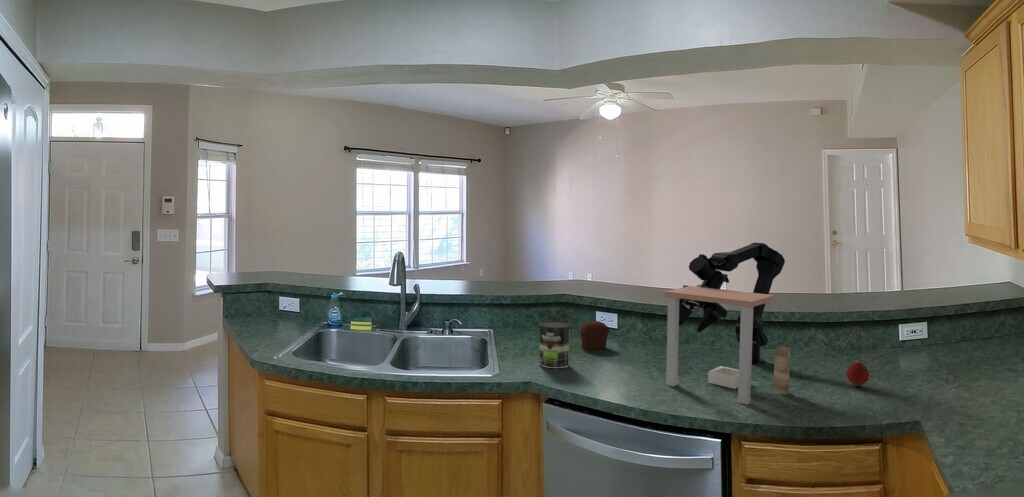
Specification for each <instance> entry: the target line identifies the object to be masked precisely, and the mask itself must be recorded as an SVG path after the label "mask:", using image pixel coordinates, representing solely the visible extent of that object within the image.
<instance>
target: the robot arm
mask: <svg viewBox="0 0 1024 497" xmlns="http://www.w3.org/2000/svg"><path fill="white" fill-rule="evenodd" d="M751 259H753V260H754V261H755V262H756V270H757V274H758V276H757V278H756V282H755V285H754V288H753V291H752V293H759V294H768V295H770V291H771V289H772V284H773V282H774V281H773V280H774V279H776V277H777V276H778V275H780V273H781V272H782V270H783V267H784V265H785V262H786V261H785V260H786V259H785V257H784V255H782V253H780V252H779V251H777V250H775V249H773V248H771V247H770V246H768V244H766V243H764V242H752V243H750V244H747V245H746V246H743V247H739V248H737V249H735V250H733V251H732V250H731V251H723V252H715V253H712V254H711V257H709V258H708V256H707V255H706V254H698V256H697V257H695V258H693V259H692V260H691V261H690V262H689V265H688V269H689V271H690V272H691V273H692V274H694V275H695V277H696V278H698V279H699V280H700V281H702V282H701V284H697V285H696V286H695V287H704V288H713V289H721V288H722V287H723V284H724V283H727V284H729V283H730V280H729V277H728V276H729V275H728V274H726V273H723V272H727V273H728V272H729V273H730V272H733V271H734V270H736V268H738V267H739V264H741V263H744V262H746V261H749V260H751ZM682 286H683V287H688V286H689V285H685V284H683V285H682ZM683 287H682V288H683ZM766 304H767V303H764V304H761V305H758V306H754V307H753V334H752V364H760V363H762V362H763V361H765V358H763V357H761V355H762V354H761V353H762V350H761V349H762V347H766V346H767V345H768V343H769V338H768V337H767V335H766V334H765V333H764V325H765V324H764V322H763V319H762V316H763V314H764V311H765V310H764V309H765V307H766ZM695 308H696V309H700V310H703V315H702V318H701V320H700V322H699V324H698V326H697V329H696V331H697V333H701V332H702V331H704V330H705V329H707V328H708V327H710V326H711V325H713V324H715V323H717V322H718V321H721V320H722V319H723V320H725V319H726V318H727V316H728V310H727V309H726V308H725V307H724V306H723V305H721V303H713V302H705V301H697V300H689V299H681V298H679V327H681V326H682V325H683V324H684V323H685V321H686V320H687V319H688V318H689V317H690V315H691V314H693V310H694V309H695ZM740 319H741V315H738V317H737V322H736V324H735V330H734V332H735V335H736V336H735V337H736V340H737V342H738V343H740Z"/></svg>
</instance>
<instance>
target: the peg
mask: <svg viewBox="0 0 1024 497" xmlns="http://www.w3.org/2000/svg"><path fill="white" fill-rule="evenodd" d="M790 367H791V348H789V347H785V346H775V347H774V366H773V368H774V370H773V393H774V394H777V395H780V396H787V395H789V394H790Z"/></svg>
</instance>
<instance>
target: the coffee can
mask: <svg viewBox="0 0 1024 497" xmlns="http://www.w3.org/2000/svg"><path fill="white" fill-rule="evenodd" d="M570 327H571V325H570V323H568V322H564V321H543V322H540V323H539V363H540V365H541V366H543V367H548V368H564V369H566V368H565V367H567V368H569V367H570V331H571V330H570ZM540 365H539V366H540ZM541 366H540V367H541ZM568 366H569V367H568ZM543 367H542V368H543Z"/></svg>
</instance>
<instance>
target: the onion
mask: <svg viewBox="0 0 1024 497" xmlns="http://www.w3.org/2000/svg"><path fill="white" fill-rule="evenodd" d="M854 361H855V363H854V362H853V363H852V364H850V365H849V367H848V368H847V369H846V374H845V375H846V377H847V380H848V381H849V382H850V383H852V384H853V386H855V385H856V386H859V387H860V386H863V385H865V384H866V383H867V382H868V381H869V380H870V373H869V370H868V368H867V367H866V366H865V365H864V364H862V362H860V360H857V359H856V360H854ZM856 386H855V387H856Z"/></svg>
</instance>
